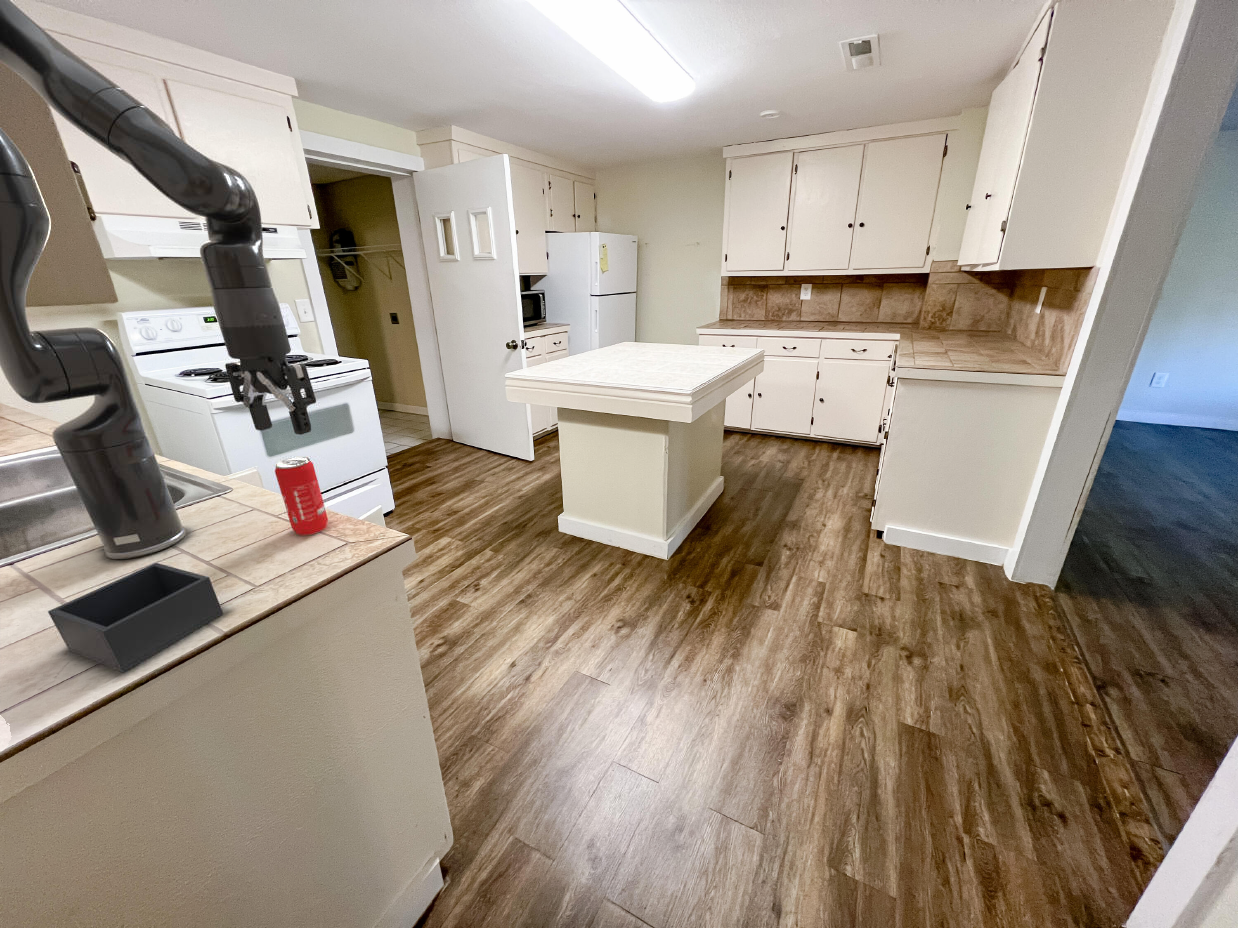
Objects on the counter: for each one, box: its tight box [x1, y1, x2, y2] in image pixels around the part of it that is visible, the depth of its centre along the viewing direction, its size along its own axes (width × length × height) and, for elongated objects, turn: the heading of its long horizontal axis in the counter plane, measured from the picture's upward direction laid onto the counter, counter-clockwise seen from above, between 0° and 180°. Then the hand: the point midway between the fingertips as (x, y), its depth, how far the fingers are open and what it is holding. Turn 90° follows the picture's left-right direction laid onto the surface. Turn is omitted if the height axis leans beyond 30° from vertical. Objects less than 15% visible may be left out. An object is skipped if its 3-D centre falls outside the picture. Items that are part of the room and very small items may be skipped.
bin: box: [47, 562, 224, 674], centre depth 57 cm, size 10×10×6 cm
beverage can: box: [274, 456, 329, 537], centre depth 79 cm, size 5×5×12 cm
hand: (283, 431), depth 75 cm, fingers open, 8 cm apart
